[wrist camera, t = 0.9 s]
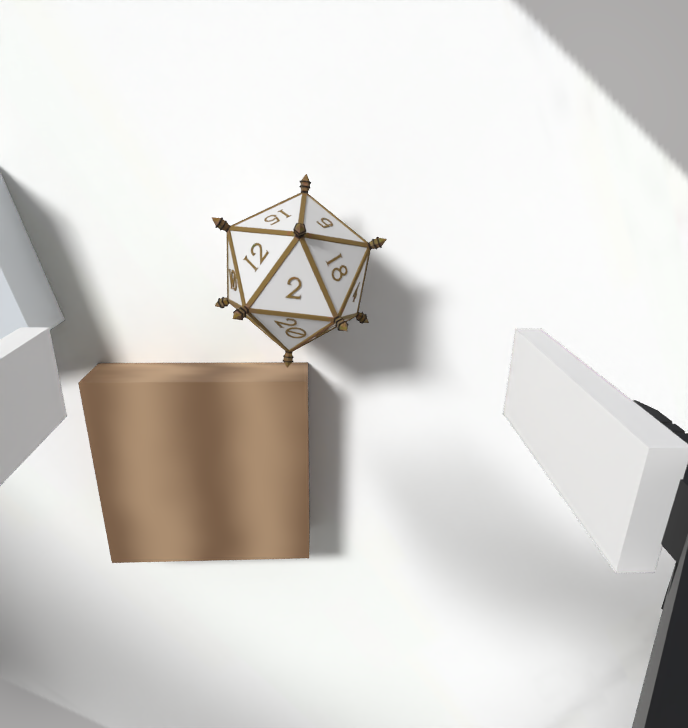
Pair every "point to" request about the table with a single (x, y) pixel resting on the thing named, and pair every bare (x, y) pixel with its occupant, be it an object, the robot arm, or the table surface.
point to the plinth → (200, 459)
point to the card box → (22, 275)
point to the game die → (295, 271)
